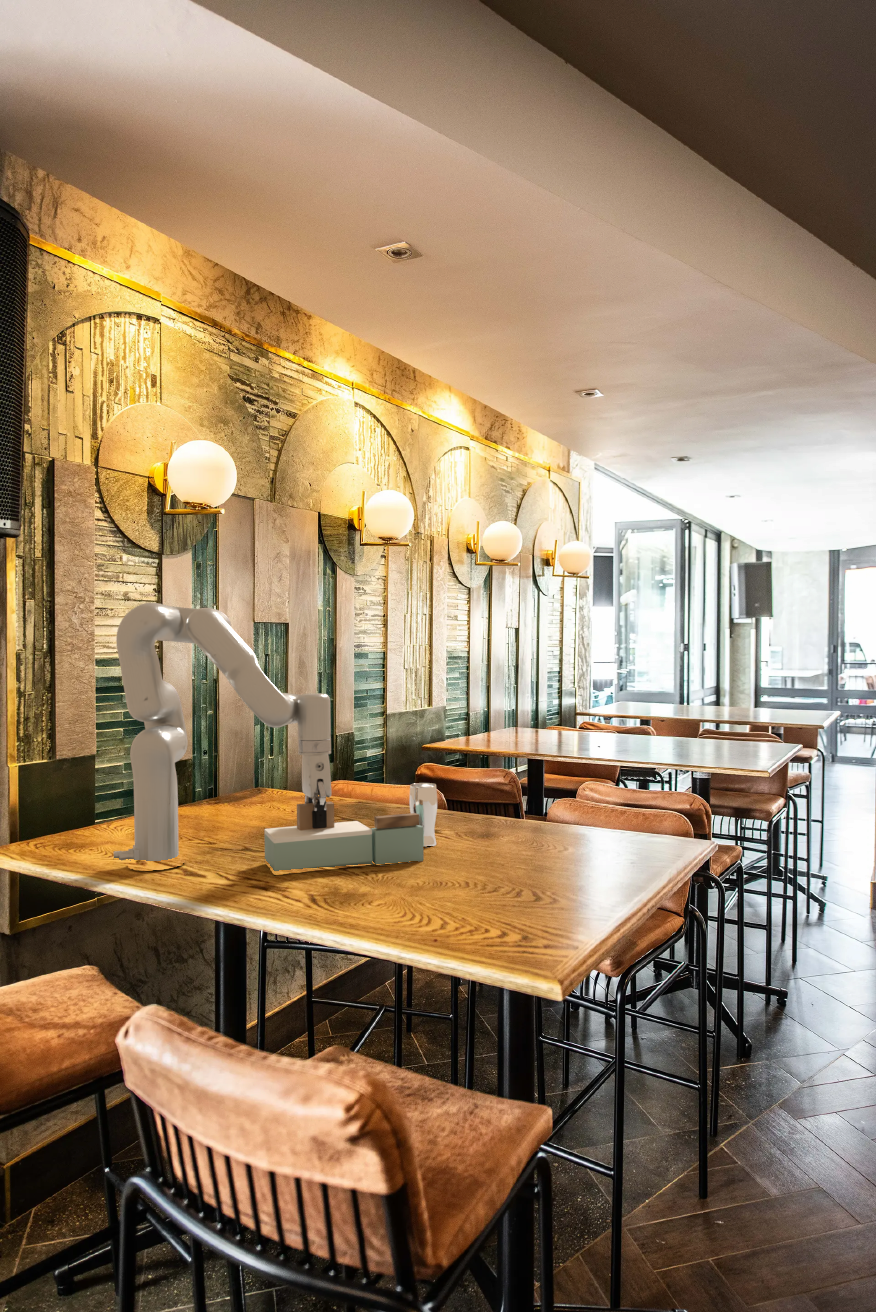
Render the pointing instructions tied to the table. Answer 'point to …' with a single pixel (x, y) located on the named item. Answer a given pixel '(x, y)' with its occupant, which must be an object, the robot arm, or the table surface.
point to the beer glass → (425, 809)
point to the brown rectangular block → (396, 820)
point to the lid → (309, 833)
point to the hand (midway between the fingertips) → (315, 824)
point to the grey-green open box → (348, 849)
